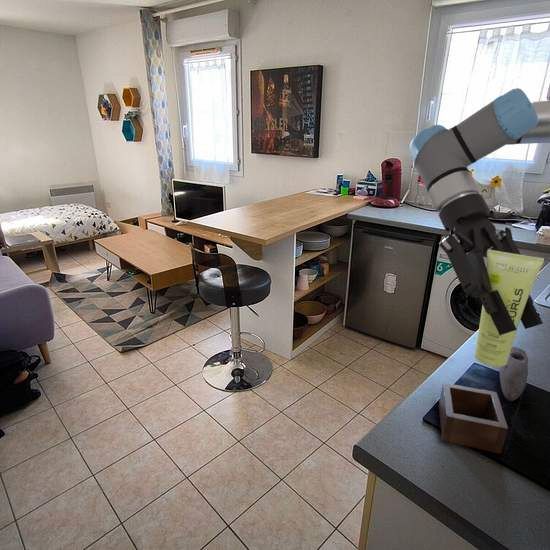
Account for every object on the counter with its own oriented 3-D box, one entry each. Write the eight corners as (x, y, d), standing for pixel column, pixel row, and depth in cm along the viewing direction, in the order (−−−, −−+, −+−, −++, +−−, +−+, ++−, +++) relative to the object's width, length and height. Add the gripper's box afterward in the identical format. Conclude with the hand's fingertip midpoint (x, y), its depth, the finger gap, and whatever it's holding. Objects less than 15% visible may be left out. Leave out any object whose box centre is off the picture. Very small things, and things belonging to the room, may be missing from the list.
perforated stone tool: (521, 412, 75) (529, 385, 72) (492, 402, 77) (499, 375, 75) (525, 373, 86) (532, 348, 83) (499, 366, 89) (505, 341, 86)
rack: (490, 415, 74) (496, 392, 72) (501, 454, 66) (508, 428, 63) (438, 405, 77) (442, 382, 75) (442, 440, 69) (447, 416, 66)
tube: (479, 368, 61) (506, 259, 53) (464, 351, 65) (487, 248, 58) (513, 368, 61) (544, 258, 53) (496, 351, 65) (523, 247, 58)
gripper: (483, 211, 70) (542, 325, 62) (405, 220, 66) (459, 345, 57) (513, 187, 64) (584, 312, 56) (430, 195, 59) (495, 333, 51)
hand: (521, 329), depth 56 cm, fingers closed on tube, 5 cm apart
